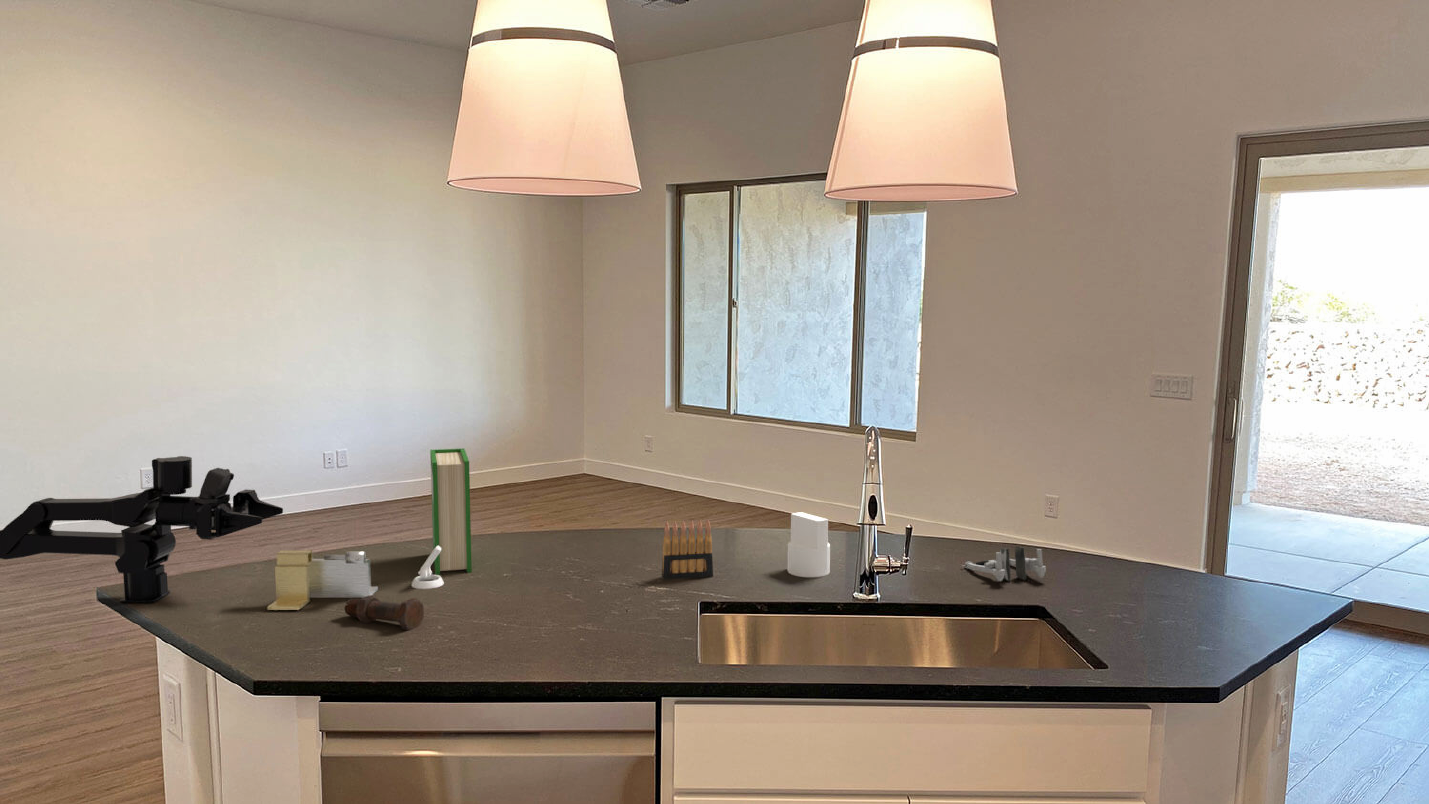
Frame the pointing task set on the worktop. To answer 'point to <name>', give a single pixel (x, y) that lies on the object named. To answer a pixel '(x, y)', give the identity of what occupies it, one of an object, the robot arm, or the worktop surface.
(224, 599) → the worktop surface
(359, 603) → the bolt
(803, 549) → the cylinder with rectangular tab
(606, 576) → the worktop surface
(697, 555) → the ammunition clip
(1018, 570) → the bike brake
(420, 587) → the hook
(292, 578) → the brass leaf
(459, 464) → the hardback book
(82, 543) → the robot arm
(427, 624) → the worktop surface
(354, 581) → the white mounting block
